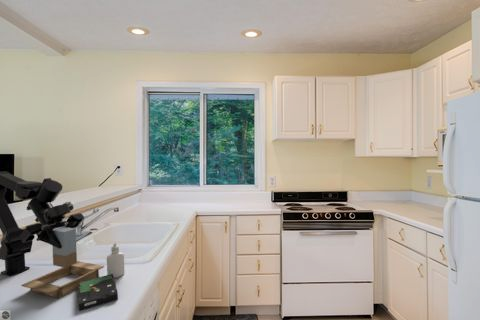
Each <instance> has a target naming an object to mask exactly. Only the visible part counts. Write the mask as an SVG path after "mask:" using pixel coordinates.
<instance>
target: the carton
mask: <svg viewBox="0 0 480 320" xmlns="http://www.w3.org/2000/svg"><path fill="white" fill-rule="evenodd" d="M103 268H105V266H104V265H100V264H97V263H95V264H94V263H91V262H90V263H89V262H84V261H81V260H80V261H79V260H77V263H75V264H73V265H71V266H68V267H66V268H64V267H60V268H57V269H55V270H53V271H51V272H48V273H45V274H44V275H41V276H39V277H37V278H35V279H32V280H30V281H27V282H25V283H23V284H21V285H20V287H23V288H28V289H30V291H32V292H36V293H38V294H39V293H40V294H44V295H47V296H50V297H54V298H58V299H61V298H63V297H64V296H66V295H68V294H70V293H72V292H74V291H75V290H79V283H81V282H82V281H83V282H84V281H88V280H91V279H96V278H98V277H100V274H99V273H100V270H101V269H103ZM69 274H74V275H78V276H79V277H77V278H75V279H73V280H71V281H69V282H67V283H64V284H62V285H55V284H51V283H52V282H54V281H56V280H59V279H60V278H63V277H66V276H68V275H69Z"/></svg>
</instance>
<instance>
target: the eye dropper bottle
mask: <svg viewBox="0 0 480 320" xmlns="http://www.w3.org/2000/svg"><path fill="white" fill-rule="evenodd" d="M110 251H111V253H109V254H108V255H107V256H106V273H107V274H106V275H110V274H113V277H114V279H115V278H119V277H122V276H124V275H125V273H126V272H125V270H126V269H125V255H124V254H125V253H123V252H121V251H120V246H119V245H117V243H116V242H113V245H112V246H111V250H110Z"/></svg>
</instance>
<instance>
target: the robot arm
mask: <svg viewBox="0 0 480 320" xmlns="http://www.w3.org/2000/svg"><path fill="white" fill-rule="evenodd" d="M7 189H9V190H11V191H13V192H14V193H15V195H14V196H16V197H17V198H18V199H19V200H21V201H27V200H29V202H28V203H27V206H26V210H27V211H32V212H33V214H34V216H35V217H36V218H35V219H34V221H35V222H36V223H32V224H29V225H26V226H25V228H21V227H20V226H19V225H18V223H17V221H16V219H15V217H14V215H13V213H12V211H11V207H9V204H8V202H7V200H6V199H5V195H6V192H7ZM62 190H63V185H62V183H60V182H59V181H57V180H53V179H52V178H51V177H47V178H43V181H40V182H39V181H33V180H31V181H29V180H25V179H22V178H20V177H18V176H16V175H13V174H11V173H10V172H9V171H0V231H1V233H2V237H1V240H0V260H1V261H4V269H5V270H2V271H0V274H2V275H5V276H9V277H10V276H12V277H13V276H14V275H17V274H20V273H22V272H24V271H27V270H29V269H30V268H31V267H30V266H26V257H25V254H28V253H31V252H32V246H33V242H34V239H35V237H36V236H37V238H36V241H37V242H39V241H40V242H42V243H46V244H48V245H50V246H52V247H53V246H55V247H57V248H59V249H60V248H61V247H62V245H61V243H60V242H59V240H58V239H57V237H56V236H55V234H54V231H53V230H55V229H58V228H62V227H67V228H75V229H77V228H78V227H79V226H80V224H81V223H82V221H83V220H84V219H85V216H84V215H83V213H82V212H79V213H74V214H70V215H69V216H68V218H67V219H65V218H66V215H67V214H69V213H71V211H72V210H74V205H73V203H72V201H66V202H64V203H63V204H59V205H58V204H57V205H53V204H52V203H53V202H54V201H55V200H57V199H56V198H57V197H58V196H59V194H61V192H62ZM64 219H65V220H64ZM35 235H36V236H35Z"/></svg>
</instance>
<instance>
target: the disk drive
mask: <svg viewBox="0 0 480 320" xmlns="http://www.w3.org/2000/svg"><path fill="white" fill-rule="evenodd" d="M118 293H119V292H118V289H117V285H116V282H115V278H114V277H113V274H110V275H107V274H106V275H104V276H99V277H98V278H96V279H91V280H88V281H84V282H83V281H82V282H81V283H79V288H78V311H79V312H81V311H84V310H87V309H90V308H94V307H98V306H101V305H105V304H108V303H111V302H115V301H118V300H119V294H118Z"/></svg>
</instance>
